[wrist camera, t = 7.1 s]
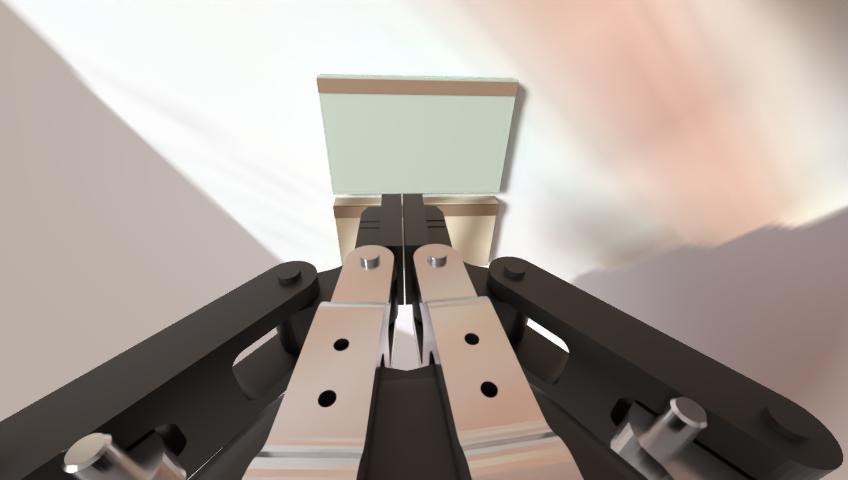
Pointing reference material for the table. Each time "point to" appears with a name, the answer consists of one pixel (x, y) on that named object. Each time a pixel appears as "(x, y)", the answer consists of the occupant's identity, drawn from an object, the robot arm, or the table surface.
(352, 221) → the ash board
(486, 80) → the sage plank
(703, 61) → the table surface
